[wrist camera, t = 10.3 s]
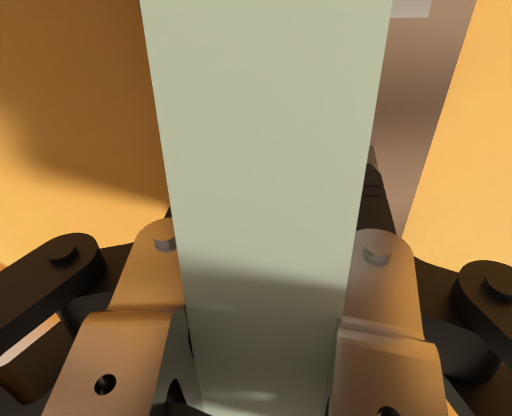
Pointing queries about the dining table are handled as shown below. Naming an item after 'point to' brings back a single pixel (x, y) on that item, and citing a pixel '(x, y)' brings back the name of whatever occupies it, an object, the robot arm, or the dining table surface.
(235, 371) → the door
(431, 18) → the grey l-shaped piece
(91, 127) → the dining table surface
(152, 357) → the robot arm
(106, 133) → the dining table surface
